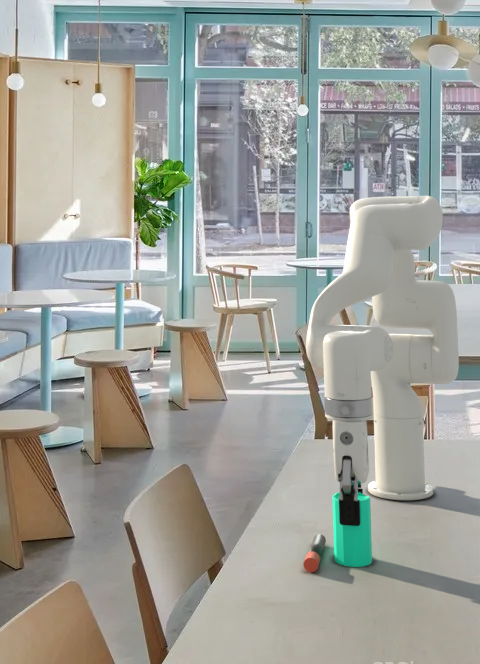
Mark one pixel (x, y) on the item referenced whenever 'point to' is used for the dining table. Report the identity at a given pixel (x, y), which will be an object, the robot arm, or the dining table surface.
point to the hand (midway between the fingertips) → (351, 517)
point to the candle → (353, 535)
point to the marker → (314, 553)
